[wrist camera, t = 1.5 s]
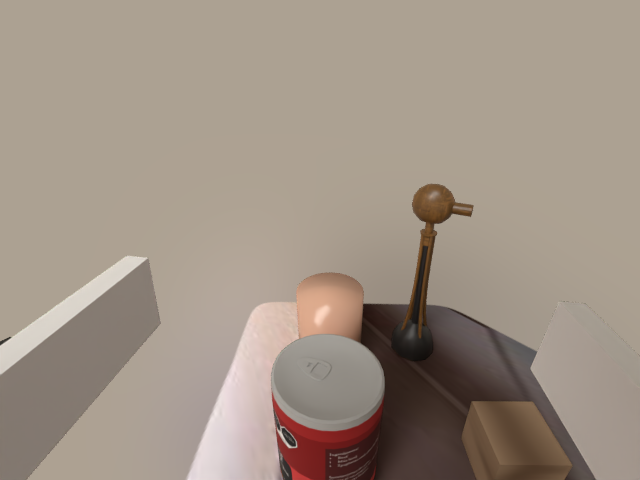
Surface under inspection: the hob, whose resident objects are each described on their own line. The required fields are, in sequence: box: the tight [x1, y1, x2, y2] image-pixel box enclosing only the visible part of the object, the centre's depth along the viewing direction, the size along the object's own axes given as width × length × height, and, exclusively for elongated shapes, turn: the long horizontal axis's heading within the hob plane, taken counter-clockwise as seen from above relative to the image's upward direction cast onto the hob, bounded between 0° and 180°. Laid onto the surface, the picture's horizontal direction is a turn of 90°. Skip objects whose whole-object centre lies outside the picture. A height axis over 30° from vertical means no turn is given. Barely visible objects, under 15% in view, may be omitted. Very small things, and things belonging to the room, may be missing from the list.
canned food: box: [271, 334, 385, 480], centre depth 26 cm, size 8×8×11 cm
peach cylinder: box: [296, 273, 364, 343], centre depth 37 cm, size 7×7×9 cm
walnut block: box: [461, 401, 573, 480], centre depth 27 cm, size 5×5×5 cm
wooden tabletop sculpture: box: [392, 184, 473, 361], centre depth 35 cm, size 6×5×20 cm
